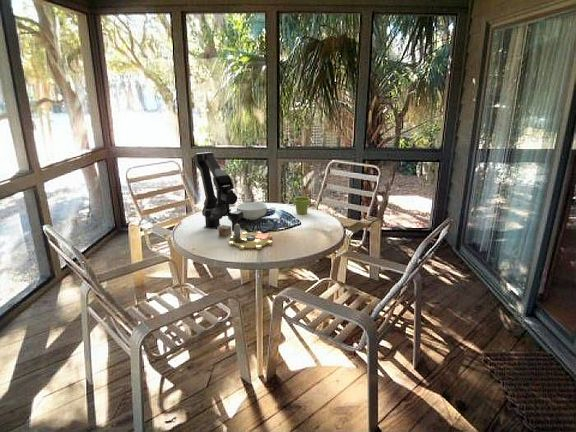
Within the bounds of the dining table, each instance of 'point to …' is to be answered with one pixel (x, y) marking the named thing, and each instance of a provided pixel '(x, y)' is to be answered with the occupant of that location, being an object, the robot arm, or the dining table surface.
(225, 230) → the block
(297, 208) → the plant pot
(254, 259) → the dining table surface
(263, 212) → the cereal bowl
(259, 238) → the sprocket
